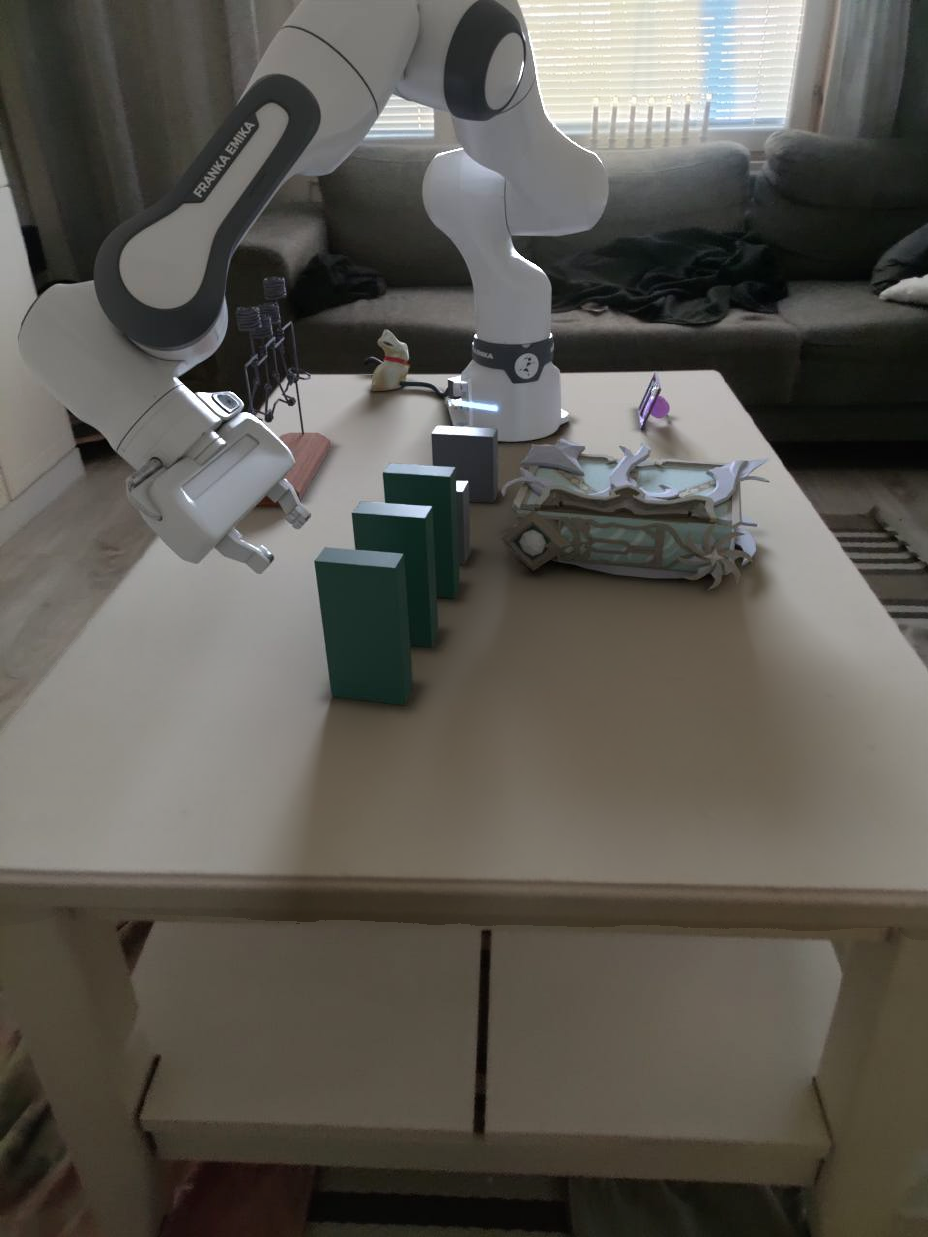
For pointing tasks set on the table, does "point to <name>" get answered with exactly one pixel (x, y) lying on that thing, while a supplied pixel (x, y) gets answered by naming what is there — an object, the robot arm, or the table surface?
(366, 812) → the table surface
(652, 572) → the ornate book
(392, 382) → the chocolate bunny
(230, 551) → the robot arm
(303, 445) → the figure sculpture
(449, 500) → the green books
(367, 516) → the green book
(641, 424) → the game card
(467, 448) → the grey books
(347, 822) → the table surface
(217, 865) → the table surface
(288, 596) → the table surface
